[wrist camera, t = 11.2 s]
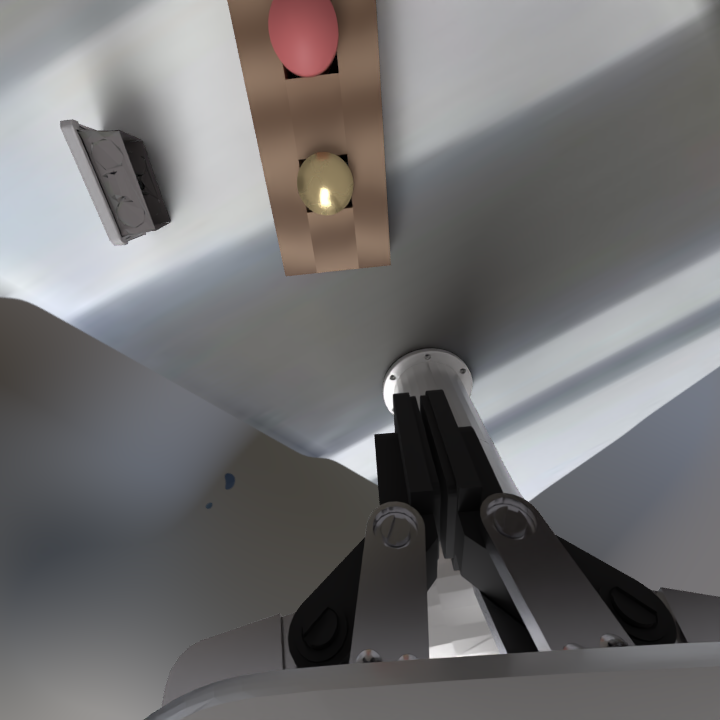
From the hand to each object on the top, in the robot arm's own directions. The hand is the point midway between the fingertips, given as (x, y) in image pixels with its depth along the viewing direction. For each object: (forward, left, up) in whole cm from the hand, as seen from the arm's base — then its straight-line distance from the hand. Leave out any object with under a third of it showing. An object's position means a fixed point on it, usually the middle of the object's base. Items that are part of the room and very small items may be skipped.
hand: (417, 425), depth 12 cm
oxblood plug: (+17, +4, -30) cm, 35 cm away
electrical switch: (+9, +23, -31) cm, 40 cm away
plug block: (+12, +4, -31) cm, 34 cm away
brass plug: (+7, +4, -31) cm, 32 cm away
